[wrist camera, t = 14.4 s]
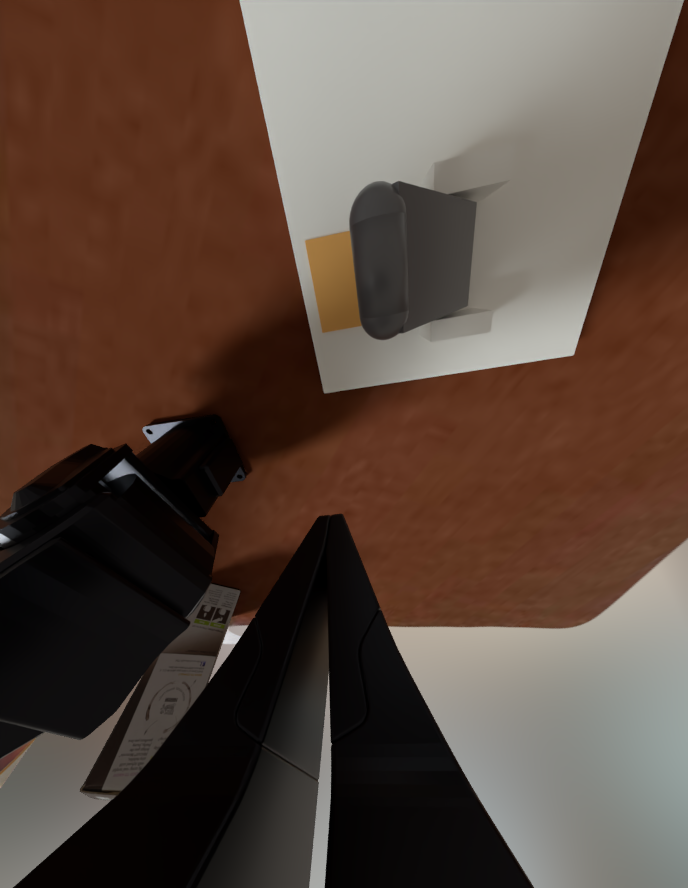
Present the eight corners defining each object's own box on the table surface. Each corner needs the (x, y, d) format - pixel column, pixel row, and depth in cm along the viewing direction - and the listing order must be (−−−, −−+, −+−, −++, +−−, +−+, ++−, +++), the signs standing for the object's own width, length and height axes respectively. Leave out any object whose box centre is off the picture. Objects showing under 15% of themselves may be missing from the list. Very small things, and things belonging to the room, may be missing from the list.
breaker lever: (441, 311, 14) (353, 345, 10) (444, 211, 12) (332, 191, 7) (474, 307, 13) (393, 345, 8) (485, 196, 11) (382, 163, 6)
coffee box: (193, 578, 32) (75, 793, 18) (242, 589, 33) (167, 798, 19) (187, 609, 36) (89, 801, 23) (230, 618, 38) (163, 806, 24)
